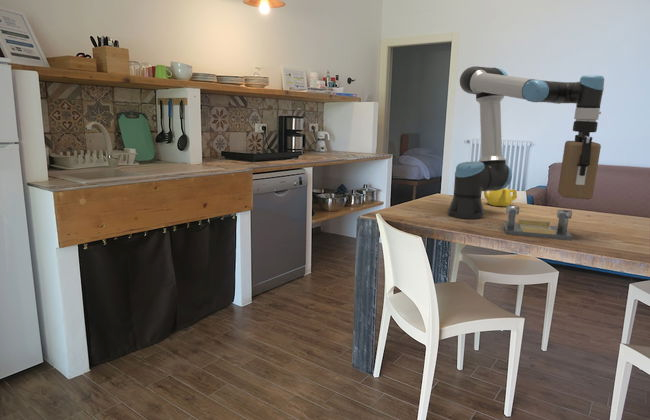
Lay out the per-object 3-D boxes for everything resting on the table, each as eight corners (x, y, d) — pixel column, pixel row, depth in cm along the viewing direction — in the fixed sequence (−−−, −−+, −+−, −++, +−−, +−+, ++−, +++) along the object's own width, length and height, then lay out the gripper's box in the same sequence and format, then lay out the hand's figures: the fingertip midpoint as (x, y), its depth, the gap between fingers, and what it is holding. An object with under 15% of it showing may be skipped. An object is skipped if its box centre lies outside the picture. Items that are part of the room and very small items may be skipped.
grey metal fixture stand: (505, 234, 171) (508, 209, 169) (503, 225, 185) (505, 202, 183) (572, 240, 164) (575, 214, 162) (564, 230, 178) (567, 206, 176)
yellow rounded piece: (478, 204, 230) (480, 184, 228) (494, 201, 238) (496, 182, 236) (503, 208, 219) (505, 188, 217) (519, 206, 227) (521, 186, 225)
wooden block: (586, 195, 172) (595, 141, 167) (592, 200, 163) (602, 143, 158) (557, 193, 175) (564, 140, 170) (561, 197, 165) (570, 142, 161)
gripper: (607, 121, 151) (596, 188, 156) (589, 120, 172) (580, 178, 177) (582, 120, 153) (571, 186, 158) (567, 119, 174) (558, 177, 179)
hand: (576, 182), depth 168 cm, fingers closed on wooden block, 10 cm apart
